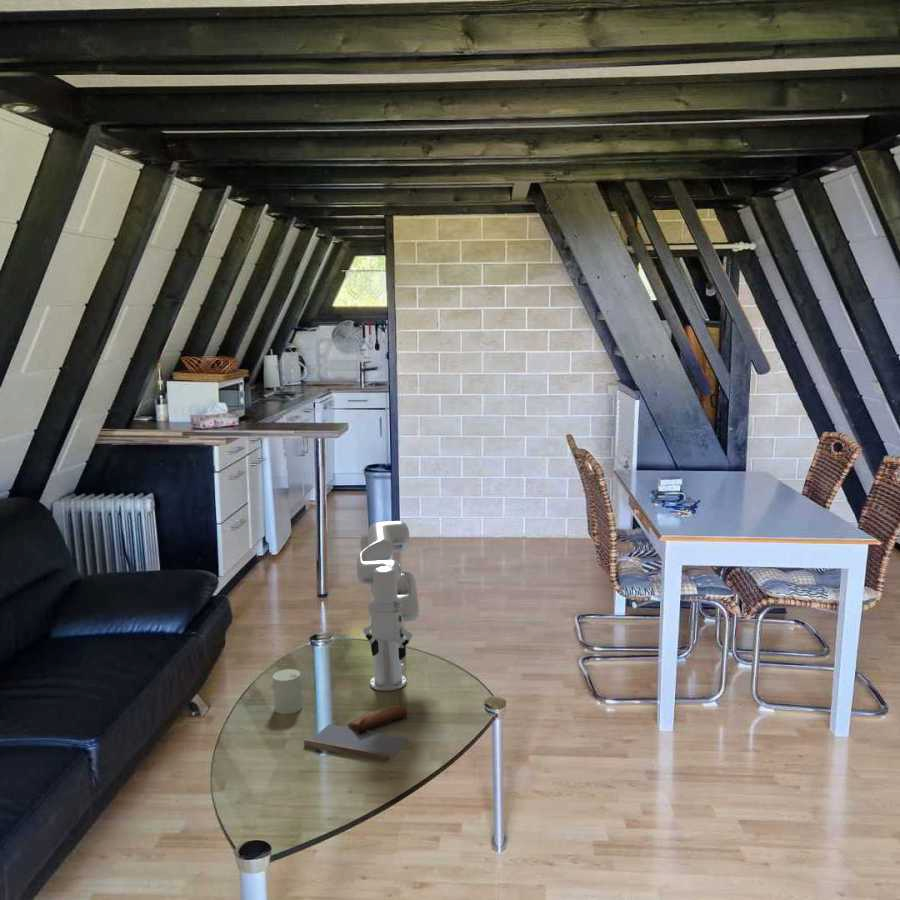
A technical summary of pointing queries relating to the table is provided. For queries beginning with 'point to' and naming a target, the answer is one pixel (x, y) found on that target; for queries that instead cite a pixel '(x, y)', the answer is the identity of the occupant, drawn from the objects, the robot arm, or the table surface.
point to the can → (287, 691)
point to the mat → (362, 739)
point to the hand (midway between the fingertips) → (388, 656)
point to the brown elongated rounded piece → (377, 718)
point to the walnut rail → (347, 750)
